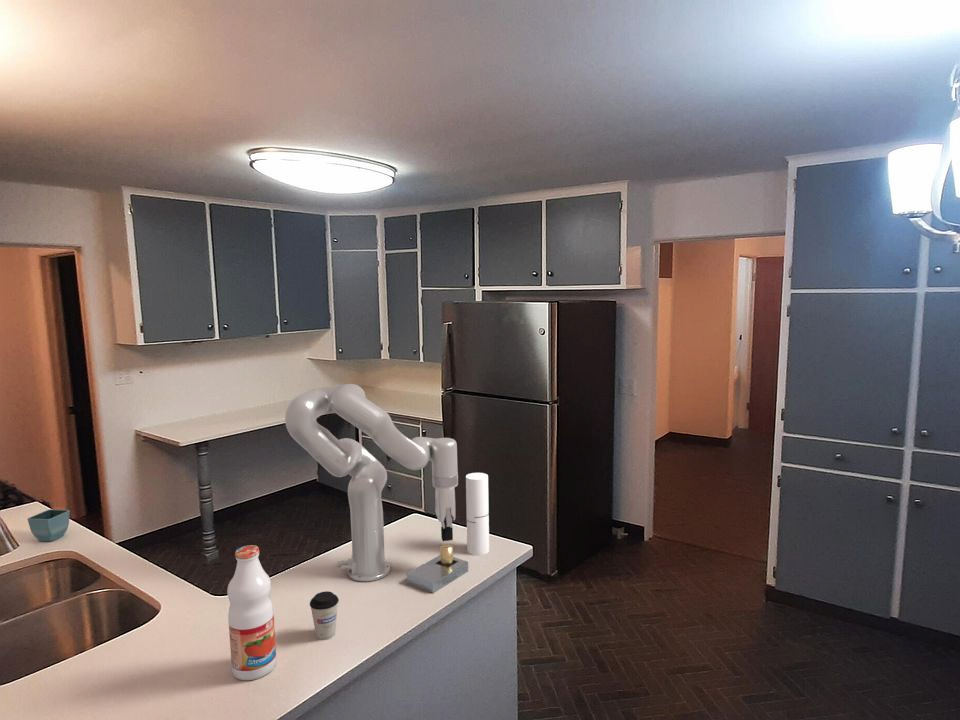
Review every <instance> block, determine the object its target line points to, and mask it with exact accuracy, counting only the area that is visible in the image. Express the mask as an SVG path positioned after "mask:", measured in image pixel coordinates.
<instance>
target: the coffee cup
mask: <svg viewBox="0 0 960 720" xmlns="http://www.w3.org/2000/svg"><path fill="white" fill-rule="evenodd" d="M339 601H340V599H339V597H338V596H337V594H335V593H333V592H332V591H327V590H325V591H321V592H318V593H316V594H315V595H314V596H313V597H312V598H311V600H310V601H309V607H310V609H311V615H312V620H313V625H314V632H315V636H316V637H315V638H316V639H318V640H320V641H327V640H330V639H332V638H333V637H334V636H335V635H336V629H337V628H336V627H337V616H338V605H339V604H338V603H339Z"/></svg>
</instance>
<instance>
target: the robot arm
mask: <svg viewBox="0 0 960 720" xmlns="http://www.w3.org/2000/svg"><path fill="white" fill-rule="evenodd" d="M330 414H336V415H338V416H339V417H341V418H342V419H343V420H345V422H348V423H350V424H351V425H353V426H354V427H355V428H357V429H358V430H360V431H361V432H363V433H364V434H366V435H367V436H368V437H369V438H371V439H372V441H373V442H374V443H375V444H376V445H377V446H378V447H379V448H380V449H381V451H383V453H385V455H387V456H388V457H390V458H391V459H393V460H394V461H396V462H397V463H398V464H400V465H401V466H403V467H405V468H406V469H409V470H412V471H418V470H419V471H420V470H422V469H423V468H425V467H426V466H427V465H428V462H429V461H430V462H431V471H432V473H431V475H432V479H431V480H432V487H433V488H435V507H434V510H435V514H436V518H437V520H438V522H439V523H441V524H440V525H441V526H440V531H441V533H440V534H441V536H440V537H441V541H442V542H449V541H453V539H454V537H453V536H454V533H453V532H454V531H453V529H454V528H453V521H455V520H456V490H455V488H456V487H458V485H459V471H458V469H459V468H458V446H457V445H458V444H457V441H456V440H455V439H454V438H451V437H440V438H434V437H425V436H416V437H413V438H412V439H410V438H408V437H407V436H406V435H404V434H403V433H402V431H400V430H399V429H398V428H397V427H396V426H395V423H394V422H393V420H392V418H391V416H390V415H389V413H388V412H387V411H385V410H384V409H382V408H381V407H379V406H378V405H377V404H375V403H373V402H372V401H371V400H369V399H367V397H366V393H365V391H364V389H363V388H362V387H361V386H360V385H358V384H354V383H346V384H339V385H331V386H325V387H316V388H311V389H309V390H306V391H305V392H303V393H301V394H299V395H297V396H296V397H294V398H293V399H292V400H291V401H290V402H289V404H288V406H287V409H286V411H285V415H284V416H285V417H284V420H285V421H284V422H285V427H286V430H287V432H288V433H289V435H290V437H291V438H292V439H293V440H294V441H295V442H296V443H297V444H298V445H299V446H301V447H302V448H303V449H304V450H305V451H306V452H308V454H309V455H310V456H311V457H312V459H314V460H315V461H316V462H317V463H319V464H320V465H321V466H322V467H323V468H324V469H325V470H326V471H327V472H328V473H329V474H330V475H331V476H334V477H336V478H343V477H345V476H347V475H349V476H350V477H351V478H350V480H349V483H348V485H347V498H348V505H349V509H350V510H349V512H350V528H351V529H350V530H351V549H352V550H351V557H350V558H348V559H345V560H337V561H336V564H337V568H340V570H341V571H345V570H347V575H348V577H349V578H350V579H352V580H353V581H357V582H373V581H378V580H380V579H382V578H384V577H386V576H387V575H388V574H390V572H391V565H390V563H389V562H387V561H386V559H385V558H386V557H385V534H384V533H385V530H384V526H385V525H384V510H383V502H382V491H383V489H384V488H385V485H386V483H387V481H388V473H387V470H386V468H385V466H384V465H383V464H382V463H381V462H380V461H379V460H378V459H377V458H376V457H375V456H374V455H373V454H372V453H371V452H369V450H367V449H366V448H365V447H364V446H363V445H362V444H361V443H359V442H358V441H356V440H355V439H352V438H348V437H345V438H341V439H338V438H337V437H336V436H335V435H334V434H332V433H331V431H330V430H329V429H328V428H326V427H324V426H322V425H321V424H319V422H318V421H317V419H318V418H320V417H322V416H324V415H330Z"/></svg>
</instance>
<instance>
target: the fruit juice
mask: <svg viewBox="0 0 960 720" xmlns="http://www.w3.org/2000/svg"><path fill="white" fill-rule="evenodd" d="M259 555H260V549H259V546H257V545H253V544H250V545H244V546H241V547H239V548H237V549H236V550H235V553H234V556H235V560H236V561H237V562H236V568H235V571H234V575H233V577H232V578H231V579H230V581H229V583H228V585H227V590H226V591H227V599H228V600H229V604H230V605H229V607H228V616H227V617H228V620H227V621H228V631H229V633H228V634H229V645H230V648H229V649H230V662H231V671H232V674H233V676H234V677H235V678H236V679H238V680H241V681H253V680H259V679H261V678H264V677H265V676H267V675H268V674H269V673H271V672H272V671H273V669H275V667H276V664H277V648H276V646H277V645H276V633H275V632H276V630H275V629H276V628H275V614H274V611H275V610H274V604H273V600H272V598H271V597H270V596H271V591H272V580H271V578H270V576H269V574H267V573H266V571H265V569H264V568H263V567H262V564H261V562H260V560H259Z"/></svg>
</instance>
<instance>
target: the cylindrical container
mask: <svg viewBox="0 0 960 720" xmlns="http://www.w3.org/2000/svg"><path fill="white" fill-rule="evenodd" d="M465 497H466V498H465V499H466V500H465V501H466V503H465V504H466V506H465V507H466V546H467V547H466V551H467V554H469V555H471V556H483V555H486V554H488V553H489V552H490V526H489V525H490V524H489V523H490V519H489V518H490V516H489V515H490V514H489V513H490V512H489V475H488V474H487V473H484V472H471V473H468V474H466V476H465Z"/></svg>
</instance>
